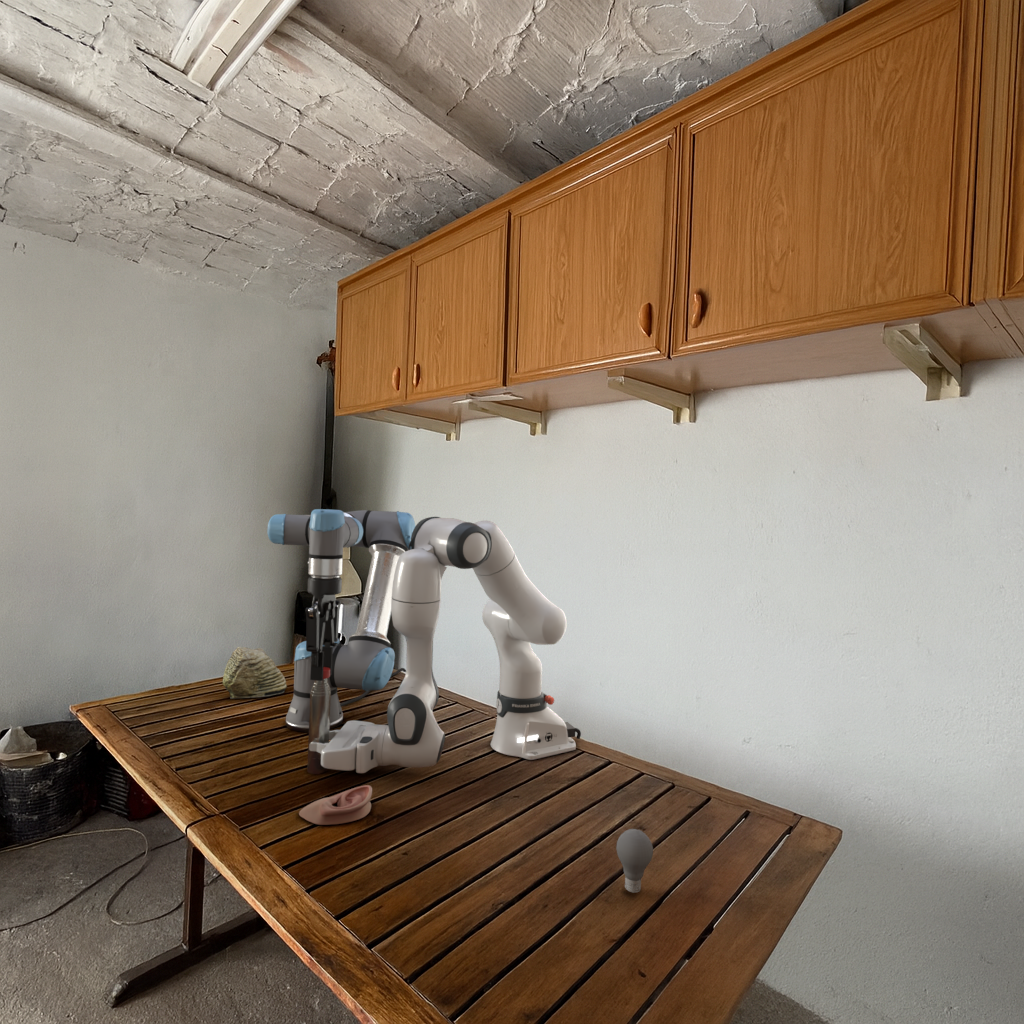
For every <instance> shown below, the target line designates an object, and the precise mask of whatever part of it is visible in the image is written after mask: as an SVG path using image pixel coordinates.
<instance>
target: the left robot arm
mask: <svg viewBox="0 0 1024 1024" xmlns="http://www.w3.org/2000/svg"><path fill="white" fill-rule="evenodd" d="M415 526H416V523H415V519H414V516H413V515H412V514H411V513H409V512H405V511H399V510H396V511H392V510H391V511H390V510H389V511H388V510H370V509H360V510H351V511H343V510H341V509H329V508H326V509H323V508H316V509H315V508H314V509H313V510H311V513H310V514H287V513H277V514H276V513H275V514H274V515H272V516H271V517H270V519H269V521H268V523H267V530H266V532H267V537H268V539H269V541H270V542H271V543H272V544H276V545H282V546H307V547H308V561H307V565H308V572H307V573H308V578H307V593H308V594H310V595H312V596H313V597H312V602H311V606H310V607H306V608H305V618H306V631H305V632H306V634H305V635H306V637H305V640H304V641H302V642H299V643H298V644H297V645H296V647H295V652H294V653H295V654H294V659H293V661H294V670H293V671H294V672H293V695H292V696H293V697H292V699H291V702H290V704H289V708H288V711H287V713H286V715H285V726H286V728H287V729H289V730H291V731H294V732H295V731H296V732H301V733H309V714H310V692H311V689H312V687H313V684H314V682H315V680H317V681H322V680H323V667H328V668H330V677H329V678H327V681H328V684H329V687H330V690H331V701H330V727H329V730H332V729H335V728H337V727H339V726H340V725H342V723H343V722H344V713H343V709H342V707H344V706H347V705H350V704H353V703H356V702H359V701H360V700H362V699H363V698H364V697H366V696H367V695H368V694H369V693H370V692H371V691H380V690H382V689H384V688H385V687H386V686H387V685H388V683H389V681H390V680H391V678H392V677H395V676H397V675H398V674H400V673H401V672H403V673H406V668H404V667H401V668H399V669H397V670H396V671H394V666H395V658H396V654H395V651H394V648H392V647H391V641H390V640H389V639H388V637H387V636H388V631H389V625H390V621H391V616H392V613H391V599H392V587H393V580H394V574H395V569H396V565H397V562H398V559H399V557H400V556H401V554H403V553H404V552H406V551H408V550H409V543H410V541H411V536H412V532H413V530H414V528H415ZM351 547H358V548H363V549H364V548H365V549H368V552H369V554H370V556H371V561H370V566H369V570H368V576H367V578H366V579H367V580H366V583H365V589H364V593H363V599H362V603H361V607H360V611H359V615H358V622H357V625H356V631H355V632H354V633H353V634H351V635H350V636H349V637H348V641H347V644H341V641H340V639H339V627H340V626H339V624H340V609H341V606H342V605H341V603H342V600H340V599H337V598H336V597H337V596H336V595H340V594H341V593H342V585H343V578H342V577H341V576H342V575H343V564H344V563H343V562H344V561H343V559H344V558H343V557H344V555H343V554H344V548H347V549H348V548H351ZM393 671H394V672H393ZM338 689H350V690H360V691H361V690H362V691H364V692H363V693H361V694H360V695H359V696H356V697H354V698H351V699H349V700H346V701H343V702H340V699H339V695H338Z"/></svg>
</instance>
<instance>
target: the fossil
mask: <svg viewBox="0 0 1024 1024" xmlns="http://www.w3.org/2000/svg"><path fill="white" fill-rule="evenodd" d="M222 676H223V677H222V685H223V687H224V688H225V690H226V691H228V693H229V698H230V699H250V698H264V697H271V696H275V695H281V694H284V693H285V691H286V689H287V687H288V686H287V680H286V678H285V676H284V674H283V673H282V672H281V669H279V668H278V667H277V665H276V663H275V662H274V660H273V659H272V658H271V657H270V656H269V655H268V654H267V653H266V652H265V650H264V649H263V648H260V647H258V648H251V647H247V646H246V647H245V646H238V647H237V648H236V649H235V650H233V651H232V653H231V656H230V657H229V659H228V660H227V663H226V666H225V668H224V671H223V675H222Z"/></svg>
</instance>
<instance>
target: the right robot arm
mask: <svg viewBox="0 0 1024 1024" xmlns="http://www.w3.org/2000/svg"><path fill="white" fill-rule="evenodd" d="M448 567H451V568H452V567H453V568H457V569H460V570H469V569H472V570H473V572H474V574H475V576H476V577H477V579H478V582H479V583H480V585H481V588H482V589H483V591H484V593H485V594H486V596H487V597H488V598H489V599H487V600H486V602H485V604H484V606H483V608H482V621H483V624H484V626H485V627H486V628H487V630H488V631H489V633H490V634H491V637H492V639H493V641H494V644H495V647H496V651H497V656H498V662H499V683H498V684H499V685H498V686H499V687H498V691H497V693H496V694H497V695H496V707H495V708H496V720H495V726H494V731H493V735H492V738H491V741H490V747H491V749H493V750H494V751H496V752H498V753H500V754H503V755H507V756H511V757H517V758H518V757H519V758H522V759H525V760H529V761H533V760H537V759H543V758H547V757H550V756H555V755H559V754H563V753H568V752H572V751H575V750H576V749H577V744H576V741H575V740H574V739H573V738H575V737H576V738H575V739H577V740H580V739H581V736H582V732H581V729H580V728H577V727H574V726H573V725H572V724H571V723H570V722H569V721H564V719H563V718H562V717H560V715H559V714H557V713H556V712H555V711H553V710H552V709H551V708H550V707H548V705H549V706H551V705H553V704H554V703H555V698H554V696H551V695H550V694H546V693H545V692H543V691H542V685H543V683H542V681H543V664H542V661H541V659H540V658H539V657H538V655H537V654H536V653H535V652H534V649H533V648H532V644H533V645H540V646H542V645H543V646H549V645H551V646H552V645H555V644H558V643H559V642H561V640H562V639H563V637H564V636H565V634H566V632H567V627H568V626H567V625H568V622H567V616H566V614H565V611H564V610H563V609H562V608H560V607H559V606H557V605H556V604H555V603H553V602H552V601H551V600H549V599H548V598H547V597H546V596H545V595H544V594H543V593H542V592H541V591H540V589H538V587H537V586H536V585H535V584H534V583H533V582H532V580H530V578H529V577H528V576H527V574H526V572H525V570H524V568H523V566H522V565H521V562H520V561H519V559H518V556H517V555H516V552H515V551H514V548H513V547H512V545H511V544H510V541H509V540H508V538H507V537H506V536H505V534H504V532H503V531H502V530H501V529H500V527H499V526H498V525H497V524H496V523H494V522H493V521H491V520H480V521H479V520H478V521H476V522H474V523H473V522H470V521H464V520H461V519H458V518H454V517H440V516H430V517H429V516H428V517H425V518H423V519H421V520H420V521H418V522H417V524H415V528H414V530H413V532H412V536H411V541H410V543H409V550H408V551H406V552H404V553H403V554H401V556H400V557H399V559H398V562H397V565H396V569H395V574H394V580H393V587H392V599H391V620H392V626H393V627H394V629H395V630H396V631H397V632H398V633H399V634H401V635H402V636H403V637H404V639H405V643H406V657H405V659H406V660H405V662H406V664H405V670H406V672H405V675H404V677H403V679H402V681H401V683H400V685H399V686H398V689H397V690H396V692H395V694H394V695H393V696H392V697H391V700H390V701H389V703H388V706H387V709H386V718H387V724H375V723H374V722H371V721H363V720H356V719H355V720H354V719H353V720H347V721H346V723H344V724H343V726H342V727H341V728H340V729H334V730H329V743H325V744H322V743H319V741H312V742H311V743H310V744H309V750H310V751H317V752H319V753H321V766H323V767H324V768H327V769H328V770H335V771H346V772H348V771H355V772H356V773H357V774H366V773H367V772H369V771H370V770H372V769H375V768H377V767H380V766H381V767H387V766H393V765H395V766H399V767H401V768H419V769H420V768H430V767H433V766H436V765H437V764H438V763H439V761H440V760H441V756H442V753H443V750H444V746H445V741H446V734H445V731H443V730H442V728H441V727H440V726H439V723H438V722H437V720H436V718H435V715H434V712H433V711H434V709H435V708H436V706H437V705H438V702H439V698H440V692H439V691H440V690H439V687H438V684H437V681H436V679H435V676H434V672H433V671H434V670H433V661H434V659H433V657H434V637H435V633H436V630H437V626H438V623H439V622H438V621H439V617H440V611H441V602H442V601H441V599H442V580H443V576H444V573H445V571H446V570H447V568H448Z"/></svg>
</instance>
